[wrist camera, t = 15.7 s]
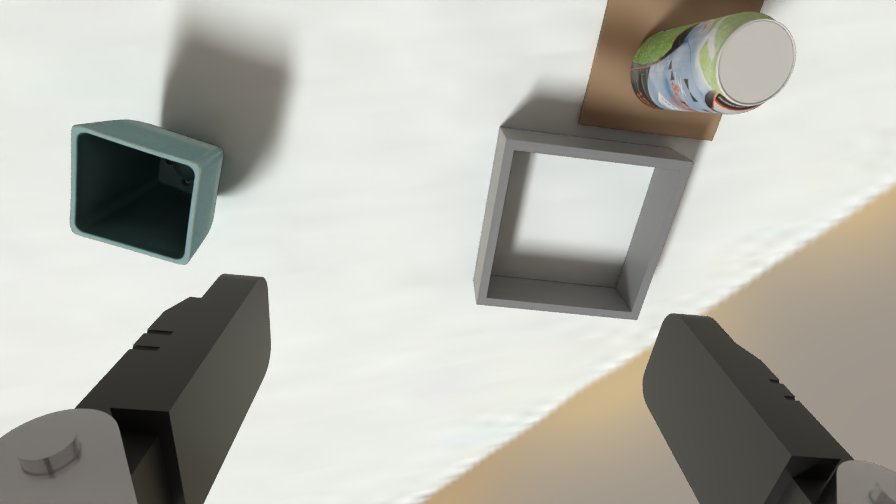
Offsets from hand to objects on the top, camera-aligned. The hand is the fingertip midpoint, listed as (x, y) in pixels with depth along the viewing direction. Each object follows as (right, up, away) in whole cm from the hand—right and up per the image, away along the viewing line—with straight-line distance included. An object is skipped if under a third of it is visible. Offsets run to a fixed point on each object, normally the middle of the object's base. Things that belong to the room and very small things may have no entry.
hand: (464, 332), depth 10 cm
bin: (+11, +5, +37) cm, 39 cm away
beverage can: (+18, +17, +30) cm, 39 cm away
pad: (+18, +18, +31) cm, 40 cm away
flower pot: (-24, +9, +34) cm, 42 cm away
